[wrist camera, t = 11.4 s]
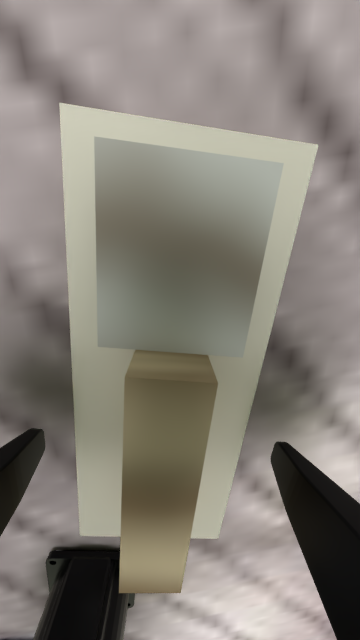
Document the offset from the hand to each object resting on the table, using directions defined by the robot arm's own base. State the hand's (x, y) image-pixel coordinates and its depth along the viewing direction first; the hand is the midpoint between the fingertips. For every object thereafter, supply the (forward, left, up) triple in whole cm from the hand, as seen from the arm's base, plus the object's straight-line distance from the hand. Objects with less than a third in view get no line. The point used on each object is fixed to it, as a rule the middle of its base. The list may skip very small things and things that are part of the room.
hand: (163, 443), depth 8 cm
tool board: (0, 0, -4) cm, 4 cm away
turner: (+1, 0, -3) cm, 3 cm away
